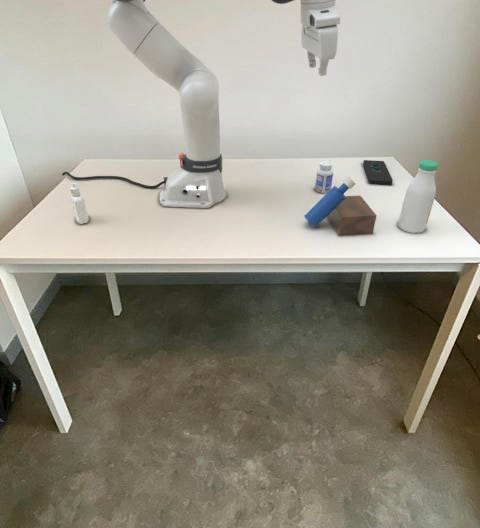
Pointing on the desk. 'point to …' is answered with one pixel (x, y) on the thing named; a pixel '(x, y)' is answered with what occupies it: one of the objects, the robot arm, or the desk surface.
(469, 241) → the desk surface
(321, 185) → the pill bottle
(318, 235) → the desk surface
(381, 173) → the smart home device
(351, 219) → the wooden box
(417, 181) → the milk bottle
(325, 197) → the bottle
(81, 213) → the eye dropper bottle
